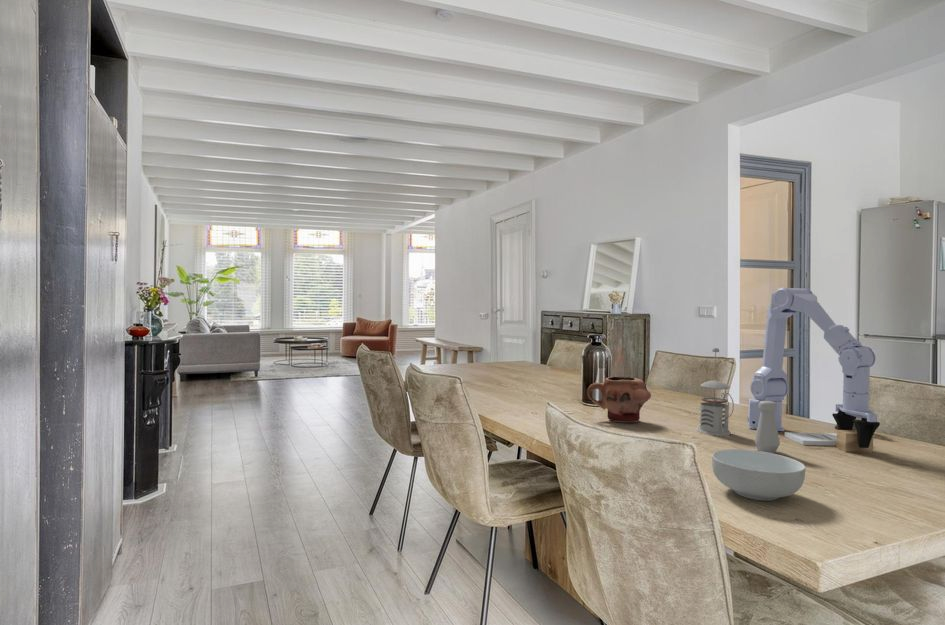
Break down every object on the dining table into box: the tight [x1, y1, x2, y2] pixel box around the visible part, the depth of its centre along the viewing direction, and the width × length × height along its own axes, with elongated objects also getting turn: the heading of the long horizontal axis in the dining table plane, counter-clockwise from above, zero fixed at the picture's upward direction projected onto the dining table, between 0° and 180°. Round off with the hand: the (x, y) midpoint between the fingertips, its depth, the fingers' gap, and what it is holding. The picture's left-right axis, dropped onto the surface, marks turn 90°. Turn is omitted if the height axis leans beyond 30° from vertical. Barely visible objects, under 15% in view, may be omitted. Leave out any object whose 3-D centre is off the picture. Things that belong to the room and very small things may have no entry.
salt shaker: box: [754, 401, 781, 454], centre depth 151 cm, size 6×6×13 cm
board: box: [784, 431, 837, 447], centre depth 163 cm, size 18×10×1 cm, turn 88°
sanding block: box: [835, 429, 874, 453], centre depth 154 cm, size 7×4×5 cm, turn 88°
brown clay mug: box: [586, 376, 652, 423], centre depth 188 cm, size 20×12×14 cm, turn 87°
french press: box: [696, 347, 735, 437], centre depth 172 cm, size 10×12×25 cm
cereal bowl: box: [711, 448, 806, 501], centre depth 117 cm, size 17×17×7 cm
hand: (854, 443), depth 154 cm, fingers open, 7 cm apart
